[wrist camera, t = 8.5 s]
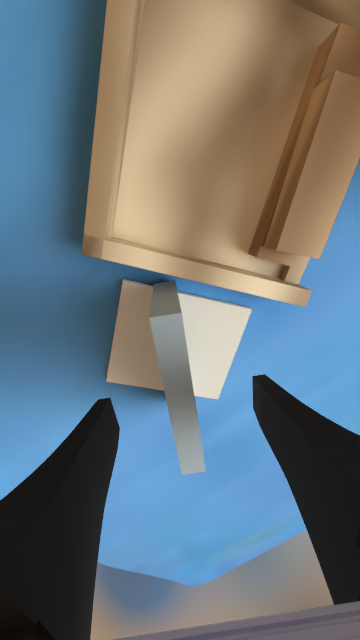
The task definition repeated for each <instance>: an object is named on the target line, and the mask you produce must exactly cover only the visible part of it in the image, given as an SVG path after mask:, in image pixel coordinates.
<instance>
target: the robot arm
mask: <svg viewBox="0 0 360 640" xmlns="http://www.w3.org/2000/svg"><path fill="white" fill-rule="evenodd" d="M253 409H254V411H255V414H256V417H257V419H258V422H259V425H260V427H261V429H262V431H263V433H264V435H265V437H266V439H267V441H268V443H269V445H270V447H271V449H272V451H273V453H274V455H275V457H276V459H277V461H278V462H279V464H280V466H281V468H282V470H283V472H284V474H285V477H286V479H287V481H288V483H289V486H290V488H291V491H292V493H293V495H294V498H295V500H296V503H297V505H298V508H299V510H300V513H301V516H302V518H303V521H304V523H305V526H306V528H307V531H308V534H309V536H310V539H311V541H312V544H313V547H314V549H315V552H316V555H317V558H318V560H319V563H320V566H321V568H322V572H323V574H324V577H325V580H326V583H327V586H328V588H329V591H330V594H331V597H332V599H333V603H334V605H331V606H325V607H318V608H312V609H306V610H299V611H292V612H286V613H280V614H273V615H267V616H260V617H254V618H248V619H242V620H235V621H228V622H222V623H216V624H209V625H203V626H196V627H190V628H183V629H177V630H171V631H164V632H158V633H151V634H145V635H138V636H133V637H126V638H120V639H113V640H360V436H359V435H357V434H355V433H353V432H351V431H349V430H347V429H345V428H343V427H342V426H340V425H338V424H336V423H334V422H333V421H331V420H329V419H327V418H325V417H324V416H322V415H320V414H319V413H317V412H316V411H314V410H313V409H311V408H309V407H308V406H306V405H305V404H303V403H302V402H301V401H299V400H298V399H296V398H295V397H294V396H292V395H291V394H289V393H288V392H287V391H285V390H284V389H283V388H282V387H280V386H279V385H278V384H276V383H275V382H274V381H273V380H271V379H270V378H269V377H267V376H266V375H265V374H264V375H258V376H253ZM119 430H120V428H119V424H118V421H117V418H116V415H115V412H114V409H113V405H112V402H111V399H110V398H106V399H99V400H97V402H96V403H95V404H94V405H93V406H92V408H91V409H90V410H89V411H88V413H87V414H86V415H85V416H84V418H83V419H82V420H81V421H80V423H79V424H78V425H77V426H76V427H75V429H74V430H73V431H72V432H71V433H70V435H69V436H68V437H67V438H66V439H65V440H64V441H63V442H62V443H61V445H60V446H59V447H58V448H57V449H56V450H55V451H54V452H53V453H52V454H51V455H50V456H49V457H48V458H47V459H46V460H45V461H44V462H43V463H42V464H41V465H40V466H39V467H38V468H37V469H36V470H35V471H34V472H33V473H32V474H31V475H30V476H29V477H27V478H26V479H25V480H24V481H23V482H22V483H20V484H19V485H18V486H17V487H16V488H15V489H14V490H12V491H11V492H10V493H9V494H8V495H7V496H5V497H4V498H3V499H2V500H0V640H90V634H91V622H92V610H93V598H94V588H95V578H96V568H97V560H98V552H99V543H100V535H101V528H102V521H103V514H104V507H105V502H106V497H107V493H108V488H109V484H110V480H111V476H112V471H113V467H114V463H115V458H116V454H117V449H118V440H119Z"/></svg>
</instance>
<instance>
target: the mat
mask: <svg viewBox="0 0 360 640" xmlns="http://www.w3.org/2000/svg"><path fill="white" fill-rule="evenodd" d="M152 292H153V285H148V284H144V283H140V282H135V281H131V280H126V279H123V283H122V289H121V295H120V301H119V307H118V313H117V319H116V325H115V331H114V337H113V343H112V349H111V355H110V361H109V367H108V373H107V379H106V382H112V383H118V384H125V385H131V386H137V387H143V388H150V389H156V390H162V391H164V387H163V382H162V377H161V372H160V368H159V363H158V358H157V353H156V348H155V344H154V339H153V334H152V329H151V325H150V320H149V315H150V308H151V300H152ZM177 293H178V297H179V302H180V307H181V311H182V317H183V324H184V331H185V337H186V344H187V351H188V357H189V364H190V370H191V377H192V384H193V390H194V396H200V397H206V398H213V399H218V398H219V395H220V392H221V390H222V387H223V384H224V382H225V379H226V376H227V374H228V371H229V369H230V366H231V363H232V361H233V358H234V355H235V353H236V350H237V348H238V345H239V342H240V340H241V337H242V334H243V332H244V329H245V326H246V324H247V321H248V319H249V316H250V313H251V311H252V309H251V308H250V307H246V306H241V305H237V304H233V303H228V302H224V301H219V300H215V299H210V298H206V297H202V296H197V295H193V294H188V293H184V292H179V291H177Z"/></svg>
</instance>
